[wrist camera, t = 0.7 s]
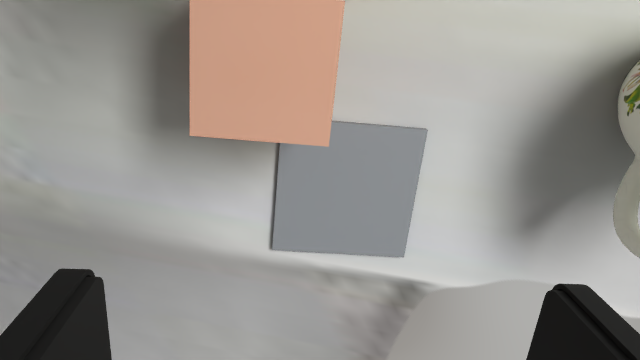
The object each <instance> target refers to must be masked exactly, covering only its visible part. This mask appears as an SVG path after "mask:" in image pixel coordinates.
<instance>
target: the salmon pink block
mask: <svg viewBox="0 0 640 360" xmlns="http://www.w3.org/2000/svg"><path fill="white" fill-rule="evenodd" d="M344 5H345V1H342V0H190V136H199V137H212V138H225V139H237V140H250V141H263V142H275V143H288V144H301V145H313V146H326V147H329V140H330V131H331V122H332V113H333V104H334V95H335V86H336V77H337V68H338V59H339V50H340V41H341V32H342V23H343V14H344Z"/></svg>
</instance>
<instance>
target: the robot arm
mask: <svg viewBox="0 0 640 360" xmlns="http://www.w3.org/2000/svg"><path fill="white" fill-rule="evenodd" d="M0 360H112V359H111V349H110V340H109V330H108V321H107V311H106V302H105V292H104V284H103V280H102V278H101V277H95V275H94V273H93V271H92V270H90V269H59V270H58V271H57V272H56V273H55V274H54V275H53V276H52V277H51V278H50V279H49V281H48V282H47V283H46V284H45V285H44V286H43V287H42V289H41V290H40V291H39V292H38V293H37V294H36V295H35V297H34V298H33V299H32V300H31V301H30V302H29V303H28V305H27V306H26V307H25V308H24V309H23V310H22V311H21V313H20V314H19V315H18V316H17V317H16V318H15V319H14V321H13V322H12V323H11V324H10V325H9V326H8V327H7V329H6V330H5V331H4V332H3V333H2V334H1V335H0ZM526 360H640V334H639V333H638V332H637V331H636V330H634V329H633V328H632V327H631V326H630V325H629V324H628V323H627V322H626V321H625V320H624V319H623V318H622V317H621V316H620V315H619V314H618V313H616V312H615V311H614V310H613V309H612V308H611V307H610V306H609V305H608V304H607V303H606V302H605V301H604V300H603V299H602V298H601V297H599V296H598V295H597V294H596V293H595V292H594V291H593V290H592V289H591V288H590V287H588V286H587V285H582V284H557V285H555V286H554V288H553V289H552V290H551V291H548V292H547V293H546V295H545V298H544V301H543V305H542V308H541V312H540V315H539V318H538V322H537V325H536V328H535V332H534V335H533V339H532V342H531V346H530V349H529V352H528V356H527V359H526Z"/></svg>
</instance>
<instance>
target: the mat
mask: <svg viewBox="0 0 640 360" xmlns="http://www.w3.org/2000/svg"><path fill="white" fill-rule="evenodd" d="M427 131H428V130H427V129H423V128H411V127H400V126H388V125H376V124H364V123H352V122H340V121H332V122H331V131H330V140H329V147H326V146H313V145H301V144H288V143H280V149H279V163H278V176H277V190H276V204H275V218H274V232H273V246H272V250H283V251H300V252H318V253H335V254H353V255H370V256H388V257H404V254H405V248H406V243H407V238H408V232H409V227H410V222H411V216H412V211H413V206H414V200H415V195H416V190H417V184H418V179H419V174H420V168H421V163H422V158H423V152H424V147H425V142H426V136H427Z"/></svg>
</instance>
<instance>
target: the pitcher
mask: <svg viewBox="0 0 640 360" xmlns="http://www.w3.org/2000/svg"><path fill="white" fill-rule="evenodd" d="M618 120H619V125H620V128H621V131H622V133H623V136H624V138H625V140H626V142H627V143H628V145H629V146H630V148H631V149H632V151H633V152H634V153H635V158H634V161H633V163H632V164H631V165H630V167H629V169H628V170H627V172H626V174H625V176H624V177H623V179H622V181H621V183H620V186H619V188H618V190H617V193H616V196H615V201H614V210H613V219H614V227H615V230H616V233H617V235H618V237H619V239H620V240H621V242H622V243H623V244H624V245H625V246H626V247H627V248H628V249H629V250H630V251H631V252H632V253H633V254H634V255H636V256H637V257H639V258H640V229H639V225H638V217H637V215H638V206H639V201H640V61H639V62H638V63H637V64H635V66H634V67H633V68H632V69H631V70H630V72H629V73H628V75H627V76H626V78H625V80H624V82H623V84H622V86H621V89H620V92H619V97H618Z"/></svg>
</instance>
